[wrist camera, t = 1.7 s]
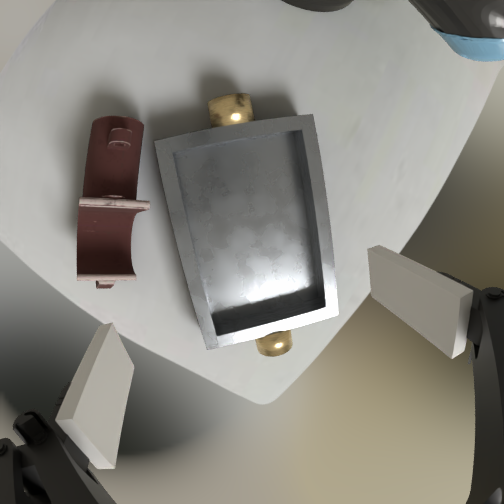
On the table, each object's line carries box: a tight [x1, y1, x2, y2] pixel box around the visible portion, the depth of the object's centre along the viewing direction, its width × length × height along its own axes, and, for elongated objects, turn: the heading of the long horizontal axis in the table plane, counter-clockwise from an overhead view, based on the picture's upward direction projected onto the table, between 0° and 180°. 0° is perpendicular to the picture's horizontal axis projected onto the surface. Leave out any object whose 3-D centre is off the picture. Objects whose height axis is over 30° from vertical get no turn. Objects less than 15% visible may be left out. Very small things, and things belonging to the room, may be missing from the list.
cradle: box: [154, 93, 338, 356], centre depth 32 cm, size 29×16×4 cm, turn 11°
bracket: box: [77, 116, 150, 289], centre depth 27 cm, size 6×17×10 cm, turn 175°
